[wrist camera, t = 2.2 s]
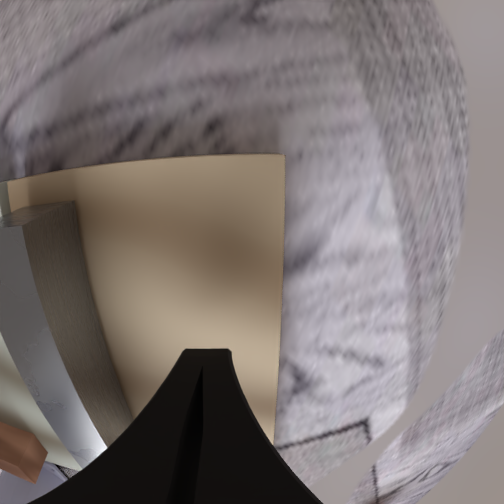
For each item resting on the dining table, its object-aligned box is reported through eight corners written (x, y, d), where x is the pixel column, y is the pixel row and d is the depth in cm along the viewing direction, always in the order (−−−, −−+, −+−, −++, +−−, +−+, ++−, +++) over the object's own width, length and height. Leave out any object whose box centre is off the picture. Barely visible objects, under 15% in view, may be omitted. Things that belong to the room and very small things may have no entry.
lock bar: (160, 462, 14) (154, 504, 11) (110, 455, 14) (99, 494, 11) (84, 199, 9) (32, 224, 6) (15, 207, 8) (-38, 232, 6)
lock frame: (267, 474, 17) (273, 525, 13) (4, 433, 16) (-13, 467, 12) (279, 153, 10) (311, 162, 6) (-92, 210, 9) (-135, 231, 5)
